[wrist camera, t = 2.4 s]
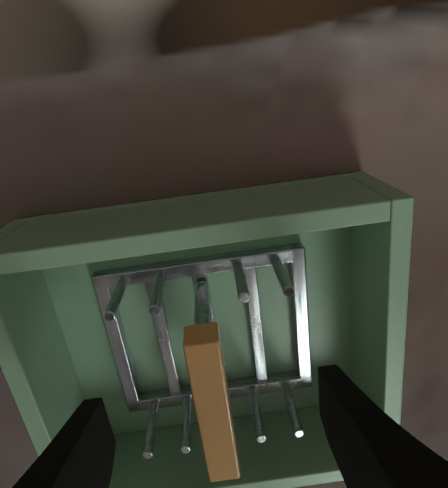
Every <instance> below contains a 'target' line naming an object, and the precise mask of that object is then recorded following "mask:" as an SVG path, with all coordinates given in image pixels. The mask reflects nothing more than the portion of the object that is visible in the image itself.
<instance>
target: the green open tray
mask: <svg viewBox="0 0 448 488" xmlns="http://www.w3.org/2000/svg"><path fill="white" fill-rule="evenodd" d="M413 203H414V198H413V197H412V196H410V195H408V194H406V193H404V192H402V191H400V190H398V189H396V188H394V187H392V186H390V185H388V184H387V183H385V182H383V181H381V180H379V179H377V178H375V177H373V176H371V175H369V174H367V173H365V172H363V171H361V172H354V173H346V174H339V175H332V176H325V177H317V178H310V179H303V180H296V181H288V182H281V183H274V184H266V185H259V186H252V187H245V188H237V189H230V190H223V191H215V192H208V193H201V194H194V195H186V196H179V197H172V198H165V199H157V200H150V201H143V202H135V203H128V204H121V205H114V206H106V207H99V208H92V209H84V210H77V211H70V212H63V213H55V214H48V215H41V216H34V217H26V218H19V219H14V220H12V221H11V222H9V223H8V224H7V225H5V226H4V227H3V228H1V229H0V367H1V369H2V372H3V374H4V376H5V379H6V381H7V383H8V386H9V388H10V391H11V393H12V395H13V398H14V400H15V402H16V405H17V407H18V410H19V412H20V414H21V417H22V419H23V421H24V424H25V426H26V428H27V431H28V433H29V436H30V438H31V440H32V443H33V445H34V447H35V450H36V452H37V455H38V457H39V456H40V455H41V453H42V452H43V451H44V450H45V448H46V447H47V446H48V445H49V443H50V442H51V441H52V440H53V438H54V437H55V436H56V435H57V433H58V432H59V431H60V429H61V428H62V427H63V426H64V424H65V423H66V422H67V420H68V419H69V418H70V417H71V415H72V414H73V413H74V411H75V410H76V409H77V407H78V406H79V405H80V404H81V403H82V401H83V400H85V399H92V398H99V397H102V399H103V402H104V405H105V408H106V412H107V415H108V418H109V421H110V424H111V428H112V431H113V434H114V437H115V440H116V448H115V456H114V464H113V471H112V477H111V481H110V485H109V488H295V487H302V486H309V485H316V484H323V483H330V482H337V481H343V480H344V479H343V477H342V475H341V472H340V470H339V468H338V465H337V463H336V460H335V458H334V456H333V453H332V451H331V448H330V446H329V443H328V440H327V437H326V434H325V430H324V427H323V424H322V420H321V417H320V411H319V387H318V367H320V366H327V365H334V364H336V365H338V366H339V367H340V368H341V369H342V370H343V371H344V373H345V374H346V375H347V376H348V377H349V378H350V379H351V380H352V381H353V382H354V383H355V384H356V385H357V386H358V387H359V388H360V389H361V390H362V391H363V392H364V393H365V394H366V395H367V396H368V397H369V398H370V399H371V400H372V401H373V402H374V403H375V404H376V405H377V406H378V407H380V408H381V409H382V410H383V411H384V412H385V413H386V414H387V415H388V416H389V417H391V418H392V419H393V420H394V421H395V422H396V423H398V424H399V425H400V422H401V405H402V388H403V371H404V354H405V338H406V321H407V304H408V287H409V270H410V254H411V237H412V220H413ZM295 243H302V244H303V246H304V247H305V256H306V276H307V295H308V315H309V334H310V354H311V374H312V387H305V388H298V389H291V391H292V395H293V398H294V401H295V404H296V408H297V411H298V414H299V417H300V421H301V424H302V427H303V431H304V435H303V436H302V437H296V436H295V435H294V432H293V429H292V425H291V422H290V418H289V414H288V411H287V407H286V403H285V400H284V396H283V392H282V391H277V392H270V393H263V394H258V398H259V403H260V408H261V413H262V418H263V423H264V429H265V434H266V441H265V442H263V443H259V442H257V440H256V435H255V429H254V423H253V417H252V410H251V404H250V398H249V396H242V397H235V398H230V403H231V409H232V416H233V422H234V429H235V435H236V442H237V448H238V456H239V466H240V478H238V479H231V480H224V481H217V482H210V480H209V476H208V471H207V466H206V461H205V456H204V451H203V446H202V441H201V436H200V431H199V426H198V421H197V416H196V411H195V406H194V403H193V404H192V413H191V450H190V452H189V453H187V454H184V453H182V452H181V450H180V448H181V429H182V409H183V405H179V406H172V407H164V408H159V410H158V418H157V425H156V433H155V441H154V449H153V456H152V458H150V459H145V458H144V457H143V455H142V454H143V448H144V441H145V435H146V428H147V422H148V415H149V410H143V411H136V412H129V410H128V407H127V403H126V399H125V396H124V392H123V389H122V385H121V381H120V378H119V374H118V371H117V367H116V364H115V360H114V357H113V353H112V350H111V346H110V343H109V339H108V336H107V332H106V329H105V325H104V321H103V318H102V314H101V311H100V307H99V304H98V300H97V297H96V293H95V290H94V286H93V283H92V279H91V277H92V275H93V273H94V272H95V271H100V270H108V269H115V268H122V267H129V266H136V265H144V264H151V263H158V262H165V261H172V260H180V259H187V258H194V257H201V256H208V255H216V254H223V253H230V252H237V251H245V250H252V249H259V248H266V247H273V246H281V245H288V244H295ZM283 266H284V268H285V270H286V272H287V274H288V276H289V278H290V272H289V263H284V264H283ZM256 273H257V282H258V292H259V301H260V311H261V321H262V330H263V340H264V349H265V359H266V368H267V374H272V373H279V372H286V371H293V370H296V359H295V345H294V330H293V316H292V301H291V296H285V295H284V294H283V291H282V289H281V287H280V284H279V282H278V279H277V277H276V274H275V272H274V269H273V267H272V265H270V266H263V267H256ZM207 276H208V283H209V286H210V296H211V302H212V308H213V315H214V321H215V322H217V323H218V325H219V331H220V338H221V344H222V351H223V357H224V364H225V370H226V377H227V380H230V379H237V378H244V377H251V376H256V373H255V364H254V356H253V347H252V339H251V330H250V322H249V313H248V305H247V302H245V303H243V302H240V301H239V299H238V294H237V289H236V284H235V278H234V273H233V271H227V272H220V273H213V274H207ZM195 285H196V282H195V276H191V277H184V278H177V279H169V280H166V282H165V287H164V293H163V303H164V308H165V312H166V317H167V322H168V327H169V331H170V336H171V341H172V346H173V350H174V355H175V360H176V364H177V369H178V374H179V379H180V383H181V386H187V385H190V381H189V375H188V370H187V365H186V360H185V355H184V350H183V336H184V327H185V326H190V325H194V299H195ZM114 288H115V287H113V289H114ZM149 304H150V302H149V298H148V293H147V289H146V284H145V283H141V284H134V285H127V287H126V290H125V293H124V296H123V298H122V301H121V304H120V307H119V311H120V315H121V319H122V323H123V327H124V331H125V334H126V338H127V342H128V346H129V350H130V353H131V357H132V361H133V365H134V369H135V373H136V376H137V380H138V384H139V388H140V392H145V391H152V390H159V389H166V388H169V386H168V382H167V377H166V373H165V368H164V364H163V360H162V355H161V351H160V346H159V342H158V337H157V333H156V329H155V324H154V320H153V315H152V314H150V313H149V311H148V309H149Z"/></svg>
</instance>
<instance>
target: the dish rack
mask: <svg viewBox="0 0 448 488" xmlns="http://www.w3.org/2000/svg"><path fill="white" fill-rule="evenodd" d="M284 263H289V272H290V278H289V276H288V274H287V272H286V270H285V268H284V266H283V264H284ZM270 265H272V267H273V269H274V272H275V274H276V277H277V279H278V282H279V284H280V287H281V289H282V291H283V294H284V295H285V296H291V301H292V316H293V330H294V345H295V359H296V370H293V371H286V372H279V373H272V374H267V368H266V359H265V349H264V340H263V330H262V321H261V311H260V301H259V292H258V282H257V273H256V267H263V266H270ZM227 271H233V273H234V278H235V284H236V289H237V294H238V299H239V301H240V302H243V303H245V302H247V305H248V313H249V322H250V330H251V339H252V347H253V356H254V364H255V373H256V376H251V377H244V378H237V379H230V380H227V377H226V370H225V364H224V357H223V351H222V344H221V338H220V331H219V325H218V323H217V322H215V321H214V315H213V308H212V302H211V296H210V286H209V283H208V276H207V274H213V273H220V272H227ZM191 276H195V282H196V285H195V299H194V325H190V326H185V327H184V336H183V350H184V355H185V360H186V365H187V370H188V375H189V381H190V385H187V386H181V383H180V379H179V374H178V369H177V364H176V360H175V355H174V350H173V346H172V341H171V336H170V331H169V327H168V322H167V317H166V312H165V308H164V303H163V293H164V287H165V282H166V280H169V279H177V278H184V277H191ZM91 279H92V283H93V286H94V290H95V293H96V297H97V300H98V304H99V307H100V311H101V314H102V318H103V321H104V325H105V329H106V332H107V336H108V339H109V343H110V346H111V350H112V353H113V357H114V360H115V364H116V367H117V371H118V374H119V378H120V381H121V385H122V389H123V392H124V396H125V399H126V403H127V407H128V410H129V412H136V411H143V410H149V415H148V422H147V428H146V435H145V441H144V448H143V454H142V455H143V457H144V458H145V459H150V458H152V456H153V449H154V441H155V433H156V425H157V418H158V410H159V408H164V407H172V406H179V405H183V409H182V429H181V448H180V450H181V452H182V453H184V454H187V453H189V452H190V450H191V413H192V404H193V403H194V406H195V411H196V416H197V421H198V426H199V431H200V436H201V441H202V446H203V451H204V456H205V461H206V466H207V471H208V476H209V480H210V482H217V481H224V480H231V479H238V478H240V466H239V456H238V448H237V442H236V435H235V429H234V422H233V416H232V409H231V403H230V398H235V397H242V396H249V398H250V404H251V410H252V417H253V423H254V429H255V435H256V440H257V442H259V443H263V442H265V441H266V434H265V429H264V423H263V418H262V413H261V408H260V403H259V398H258V394H263V393H270V392H277V391H282V392H283V396H284V400H285V403H286V407H287V411H288V414H289V418H290V422H291V425H292V429H293V432H294V435H295V436H296V437H302V436H303V435H304V431H303V427H302V424H301V421H300V417H299V414H298V411H297V408H296V404H295V401H294V398H293V395H292V391H291V389H298V388H305V387H312V374H311V354H310V334H309V315H308V295H307V276H306V256H305V247H304V246H303V244H302V243H295V244H288V245H281V246H273V247H266V248H259V249H252V250H245V251H237V252H230V253H223V254H216V255H208V256H201V257H194V258H187V259H180V260H172V261H165V262H158V263H151V264H144V265H136V266H129V267H122V268H115V269H108V270H100V271H95V272H94V273H93V275H92V277H91ZM141 283H145V284H146V289H147V293H148V298H149V302H150V304H149V309H148V311H149V313H150V314H152V315H153V320H154V324H155V329H156V333H157V337H158V342H159V346H160V351H161V355H162V360H163V364H164V368H165V373H166V377H167V382H168V386H169V388H166V389H159V390H152V391H145V392H140V388H139V384H138V380H137V376H136V373H135V369H134V365H133V361H132V357H131V353H130V350H129V346H128V342H127V338H126V334H125V331H124V327H123V323H122V319H121V315H120V311H119V307H120V304H121V301H122V298H123V296H124V293H125V290H126V287H127V285H134V284H141ZM113 287H115V288H114V289H113Z"/></svg>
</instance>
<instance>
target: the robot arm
mask: <svg viewBox="0 0 448 488" xmlns="http://www.w3.org/2000/svg"><path fill="white" fill-rule="evenodd" d="M318 387H319V411H320V417H321V420H322V424H323V427H324V430H325V434H326V437H327V440H328V443H329V446H330V448H331V451H332V453H333V456H334V458H335V460H336V463H337V465H338V468H339V470H340V472H341V475H342V477H343V479H344V482H345V484H346V487H347V488H448V461H446V460H445V459H443V458H442V457H441V456H439V455H438V454H436V453H435V452H433V451H432V450H431V449H429V448H428V447H427V446H425V445H424V444H423V443H421V442H420V441H419V440H417V439H416V438H415V437H413V436H412V435H411V434H410V433H408V432H407V431H406V430H405V429H404V428H402V427H401V426H400V425H399V424H398V423H396V422H395V421H394V420H393V419H392V418H391V417H389V416H388V415H387V414H386V413H385V412H384V411H383V410H382V409H381V408H380V407H378V406H377V405H376V404H375V403H374V402H373V401H372V400H371V399H370V398H369V397H368V396H367V395H366V394H365V393H364V392H363V391H362V390H361V389H360V388H359V387H358V386H357V385H356V384H355V383H354V382H353V381H352V380H351V379H350V378H349V377H348V376H347V375H346V374H345V373H344V371H343V370H342V369H341V368H340V367H339V366H338V365H336V364H334V365H327V366H320V367H318ZM115 448H116V440H115V437H114V434H113V431H112V428H111V424H110V421H109V418H108V415H107V412H106V408H105V405H104V402H103V399H102V397H99V398H92V399H85V400H83V401H82V403H81V404H80V405H79V406H78V407H77V409H76V410H75V411H74V413H73V414H72V415H71V417H70V418H69V419H68V420H67V422H66V423H65V424H64V426H63V427H62V428H61V429H60V431H59V432H58V433H57V435H56V436H55V437H54V438H53V440H52V441H51V442H50V443H49V445H48V446H47V447H46V448H45V450H44V451H43V452H42V453H41V455H40V456H39V457H38V458H37V460H36V461H35V462H34V463H33V464H32V465H31V467H30V468H29V469H28V470H27V471H26V472H25V473H24V475H23V476H22V477H21V478H20V479H19V480H18V482H17V483H16V484H15V485H14V486H13V487H12V488H109V485H110V481H111V477H112V471H113V464H114V456H115Z"/></svg>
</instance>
